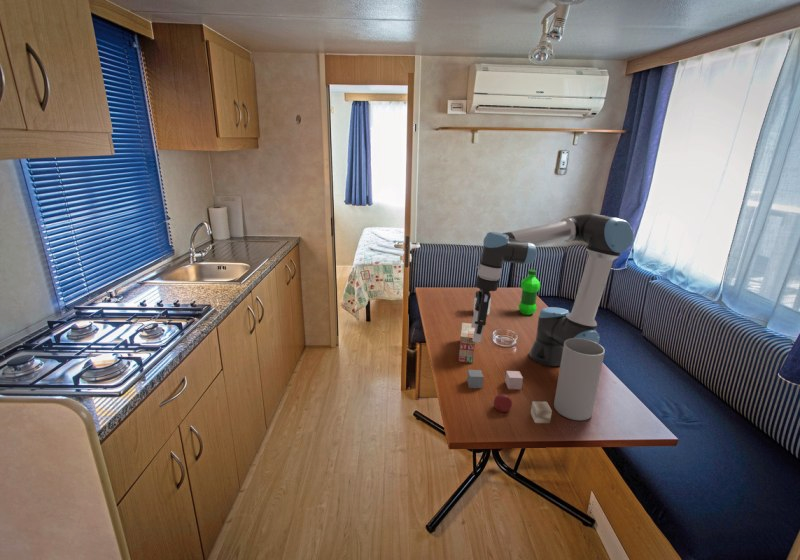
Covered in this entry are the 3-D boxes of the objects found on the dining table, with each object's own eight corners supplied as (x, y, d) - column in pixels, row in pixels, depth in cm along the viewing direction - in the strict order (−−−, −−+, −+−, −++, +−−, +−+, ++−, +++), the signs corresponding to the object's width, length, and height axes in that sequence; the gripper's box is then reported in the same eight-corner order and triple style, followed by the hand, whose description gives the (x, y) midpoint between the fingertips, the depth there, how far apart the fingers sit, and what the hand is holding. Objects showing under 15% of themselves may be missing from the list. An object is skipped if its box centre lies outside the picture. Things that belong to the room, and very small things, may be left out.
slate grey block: (479, 381, 160) (480, 370, 159) (482, 388, 156) (483, 376, 154) (467, 380, 160) (468, 369, 159) (469, 388, 156) (470, 376, 154)
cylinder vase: (554, 396, 152) (564, 335, 144) (591, 405, 147) (603, 342, 139) (552, 415, 141) (563, 350, 133) (592, 425, 136) (605, 358, 128)
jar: (491, 315, 224) (493, 295, 221) (477, 316, 223) (479, 296, 219) (484, 309, 233) (486, 290, 229) (471, 310, 231) (473, 290, 227)
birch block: (544, 414, 141) (546, 401, 140) (549, 423, 137) (551, 410, 135) (530, 413, 141) (532, 401, 140) (534, 423, 137) (536, 410, 135)
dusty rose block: (517, 382, 160) (519, 371, 159) (521, 389, 156) (522, 378, 154) (505, 382, 160) (506, 370, 159) (508, 389, 156) (509, 377, 154)
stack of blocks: (460, 340, 195) (462, 316, 191) (474, 341, 194) (476, 317, 190) (458, 362, 175) (460, 335, 171) (473, 363, 174) (475, 337, 170)
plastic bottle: (513, 312, 230) (519, 270, 222) (523, 308, 236) (529, 267, 229) (529, 318, 223) (535, 274, 215) (539, 313, 229) (545, 271, 222)
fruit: (508, 410, 146) (505, 387, 148) (514, 412, 140) (512, 388, 142) (491, 411, 145) (489, 388, 147) (497, 413, 140) (495, 389, 141)
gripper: (475, 267, 152) (464, 320, 158) (479, 284, 128) (465, 345, 134) (495, 271, 152) (483, 324, 157) (502, 288, 128) (488, 350, 133)
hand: (475, 334), depth 146 cm, fingers open, 13 cm apart
